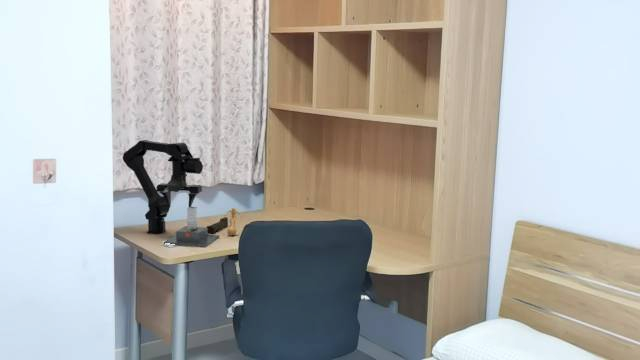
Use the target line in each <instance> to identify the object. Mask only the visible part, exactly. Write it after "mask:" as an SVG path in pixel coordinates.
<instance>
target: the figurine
mask: <svg viewBox="0 0 640 360" xmlns="http://www.w3.org/2000/svg"><path fill="white" fill-rule="evenodd" d="M229 213H231V215H230V216H229V217H230V218H229V223H230V226H229V227H228V228H227V230H226V232H227V234H228V235H229V236H231V237H232V236H235V235H236V234H237V228H236V227H235V225H236V220H237V215H236V214H237V213H238V214H239V215H240V220H243V216H242V213H241V212H240V211H239V210H237V209H236V208H235V207H232V208H231V209H230V210H228V211H227V212H226V213H225V214H224V217H223V218H225V217H226V216H227V215H228V214H229ZM232 221H233V222H232ZM232 224H233V225H232Z"/></svg>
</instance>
